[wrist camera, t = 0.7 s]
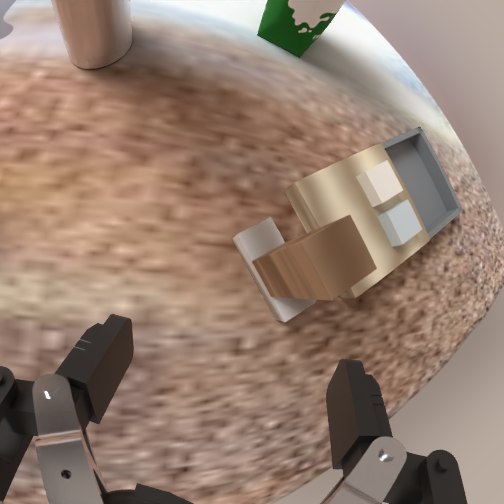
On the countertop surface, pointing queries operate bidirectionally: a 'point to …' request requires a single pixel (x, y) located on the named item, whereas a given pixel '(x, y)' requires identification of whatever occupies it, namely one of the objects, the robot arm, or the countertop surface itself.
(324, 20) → the milk carton
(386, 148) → the tray
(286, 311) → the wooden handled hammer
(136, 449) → the countertop surface
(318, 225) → the light wood board
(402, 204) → the tile
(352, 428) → the robot arm
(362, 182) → the tile
